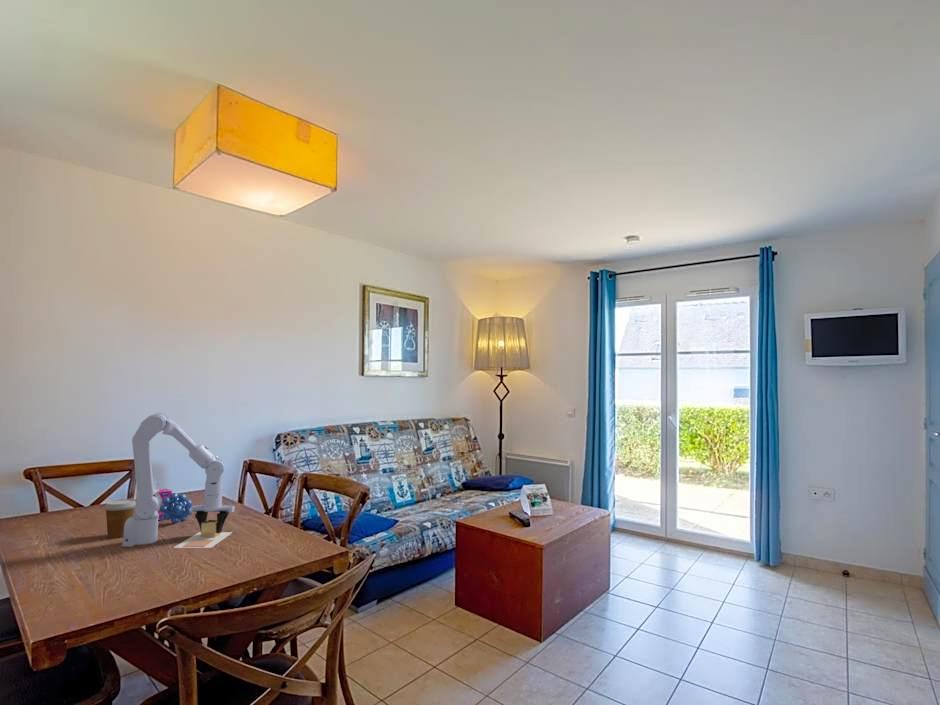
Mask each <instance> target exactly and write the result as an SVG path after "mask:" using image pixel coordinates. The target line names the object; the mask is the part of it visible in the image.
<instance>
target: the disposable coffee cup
mask: <svg viewBox="0 0 940 705" xmlns="http://www.w3.org/2000/svg"><path fill="white" fill-rule="evenodd" d="M135 505H136V499H133V498H122V499H114V500H110V501H107V502H105V505H104V509H105V516H106V517H105V518H106V530H107V532H106V533H107V538H108V537H110V538H109V539H119V538H118V537H121V538H123V534H124V525H125V522H126V520H127V519H128V518H130V517H134V507H135Z"/></svg>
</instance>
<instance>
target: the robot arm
mask: <svg viewBox="0 0 940 705" xmlns="http://www.w3.org/2000/svg"><path fill="white" fill-rule="evenodd" d="M162 431H163V432H162ZM160 432H161V433H162V435H166V436H170V437H173V438H174V439H175V440H176V441H178V442H179V443H180V444H181V445H182V446H183V447H185V449H186V450H188V451H189V452H188V457H189V458H190V459H192V461H194V463H196V464H197V465H198V466H199V467H200V468H201V469H204V473H205V475H206V480H205V483H204V496H203V497H204V500H203V505H201V504H200V505H192V506H191V507H190V508H191V511H190V512H192V513H195V514H194V517H195V519H196V520H197V523H198V526H199V528H200V531H201V524H202V522H204V521H206V520H208V514H209V513H216V519H217V523H218V524H217V533H220V532H223V531H222V530H223V527H224V524H225V522H226V519H227V518H228V516H229V514H231V513H233V512H235V505H228V504H227V505H225V504H222V503H223V491H224V490H223V486H224V475H223V474H224V471H225V465H224V463H223V461H222V459H220V458H219V456H217V455H215V454H213V453H212V452H211V451H210V450H209V449H210V447H209V446H208V445H204V444H199V443H196V442H195V441H194V440H193V438H191V437H190V436H189V435H188V434H187V433H186V432H185V430H184V429H182V427H181V426H180V425H178V424H177V423H176V422H175V420H173V419H171V418H169V417H168V416H167V414H165V413H161V412H157V413H154V414H151V415H149V416H147V417H146V418H145V419H143V420H142V421H141V422H140V425H139V426H138V428H137V430H136V432H135V433H134V435H133V436H132V438H131V443H132V453H133V454H132V455H133V461H134V471H135V482H136V483H135V484H136V496H135V502H136V505H135V507H134V513H133V517H130V518H128V519H127V520H126V522H125V525H124V534H123V537H122V544H121V546H120V547H121V548H122V547H132V548H133V547H134V546H135V545H146V544H147V545H148V544H153V543H154V542H157V541H158V528H159V521H158V519H159V514H158V513H157V511H156V509H157V508H158V507H159V505H160V500H159V498H158V497H157V496H156V492H155V490H156V489H155V485H154V478H153V477H154V475H153V466H152V455H151V447H150V442H151V441H152V439H153V438H154V437H156V435H157V434H159V433H160Z"/></svg>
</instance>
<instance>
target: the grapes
mask: <svg viewBox="0 0 940 705" xmlns="http://www.w3.org/2000/svg"><path fill="white" fill-rule="evenodd" d="M163 504H165V505H162V506H160V511H161V512H163V513H164V514H163V518H164V519H165V520H166V521H169V520H170V523H172V524H178V523H179V522H186V521H187V520H188V516H191V515H193V512H190V511H191V507H192V506H193V504H194V503H193V501H192V500H191V499H188V497H187V494H186V493H181V494H178V493H176V492H172V494H171V495H170V498H169V497H165V498H163ZM165 520H164V521H165Z"/></svg>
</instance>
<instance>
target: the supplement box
mask: <svg viewBox="0 0 940 705" xmlns="http://www.w3.org/2000/svg"><path fill="white" fill-rule="evenodd" d="M155 492H156V496H157V497H158V498H159V500H160V505H159V507H158V508H157V509H156V511H157V513H158V514H159V519H158V520H160V521H165V520H164V518H163V514H164V513H163V512H161V511H160V506H162V505H165V504H163V498H165V497H169V498H170V495H171V494H172V493H173V490H170V489H167V488H161V489H155Z"/></svg>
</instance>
